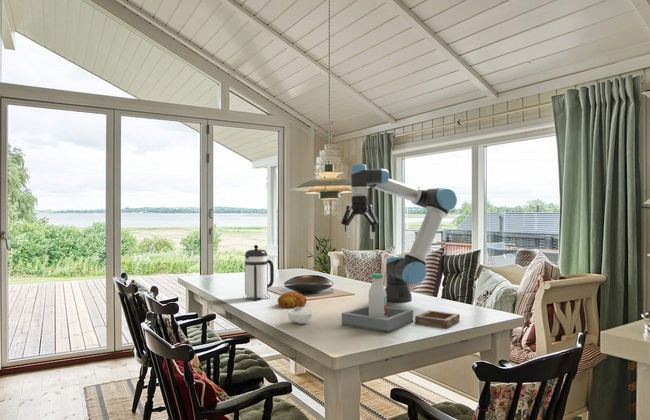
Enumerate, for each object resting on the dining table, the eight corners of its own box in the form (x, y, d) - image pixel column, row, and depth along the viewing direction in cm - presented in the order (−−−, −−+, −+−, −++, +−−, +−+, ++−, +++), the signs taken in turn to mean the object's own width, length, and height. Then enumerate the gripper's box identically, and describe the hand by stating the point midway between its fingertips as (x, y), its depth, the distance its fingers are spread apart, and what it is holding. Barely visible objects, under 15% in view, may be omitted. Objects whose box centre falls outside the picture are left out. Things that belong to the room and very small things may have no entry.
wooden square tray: (429, 317, 202) (428, 310, 202) (459, 321, 193) (459, 314, 193) (415, 323, 191) (415, 316, 191) (447, 328, 182) (447, 320, 182)
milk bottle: (381, 324, 186) (380, 275, 186) (365, 321, 190) (364, 274, 191) (390, 320, 192) (389, 273, 192) (374, 318, 197) (374, 272, 197)
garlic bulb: (294, 327, 186) (294, 311, 186) (284, 321, 197) (284, 306, 197) (316, 324, 190) (316, 308, 190) (305, 319, 201) (305, 303, 201)
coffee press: (269, 301, 244) (269, 245, 244) (240, 301, 244) (240, 246, 244) (274, 295, 261) (273, 243, 261) (246, 295, 261) (246, 243, 262)
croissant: (273, 311, 227) (272, 296, 226) (286, 301, 242) (285, 287, 241) (300, 312, 222) (298, 297, 221) (311, 302, 237) (310, 287, 236)
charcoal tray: (369, 315, 207) (369, 304, 207) (413, 321, 193) (412, 310, 193) (341, 325, 189) (341, 313, 189) (388, 333, 176) (388, 320, 176)
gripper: (333, 196, 226) (334, 238, 226) (377, 194, 212) (378, 239, 212) (342, 196, 232) (342, 237, 232) (385, 194, 218) (386, 238, 218)
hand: (360, 238), depth 222 cm, fingers open, 13 cm apart
